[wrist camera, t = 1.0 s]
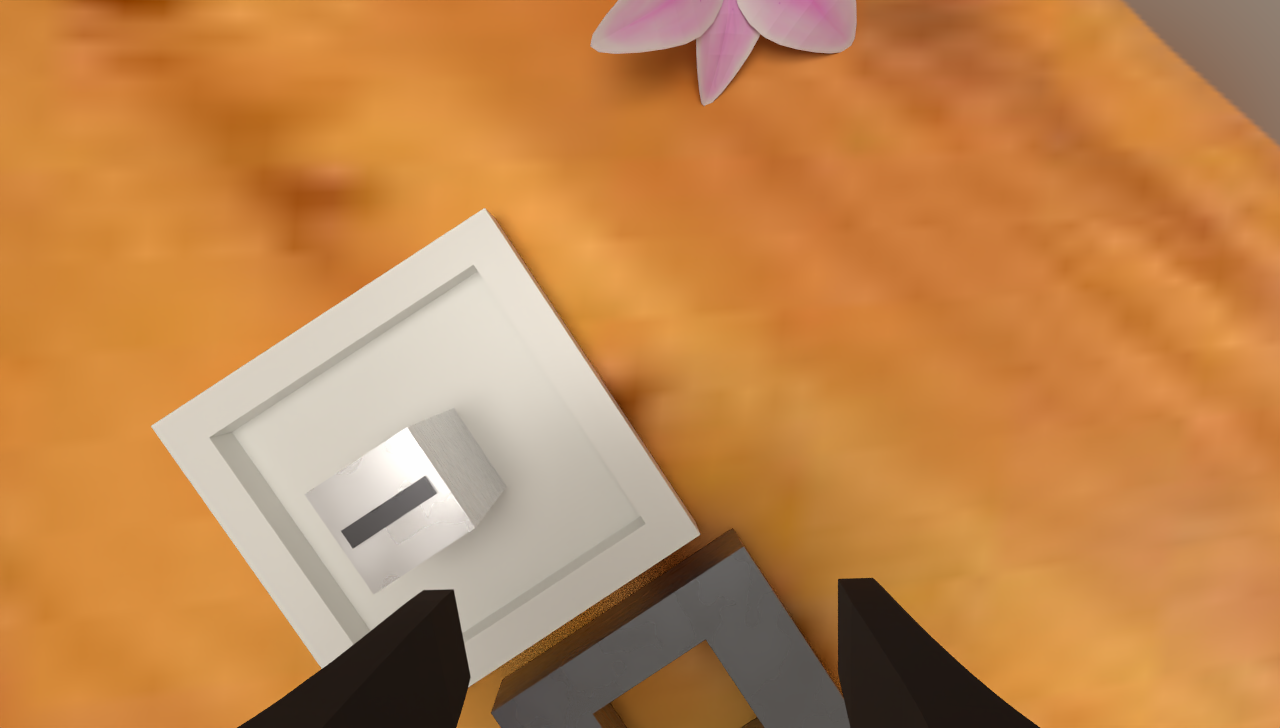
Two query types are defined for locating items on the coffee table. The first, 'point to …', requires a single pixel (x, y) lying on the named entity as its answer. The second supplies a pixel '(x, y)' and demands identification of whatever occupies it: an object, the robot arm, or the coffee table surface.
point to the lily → (725, 31)
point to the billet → (408, 498)
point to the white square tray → (407, 394)
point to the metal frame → (680, 650)
